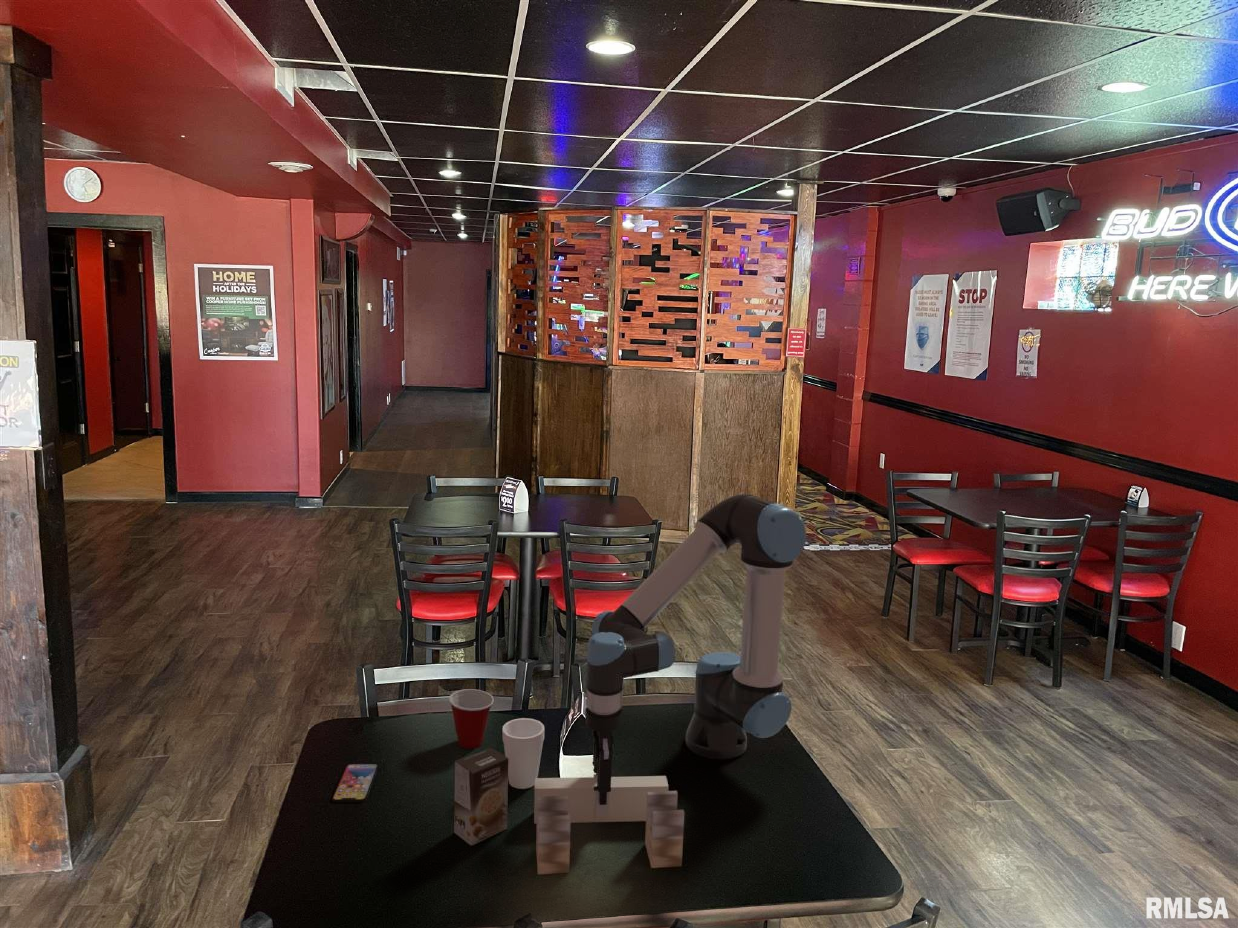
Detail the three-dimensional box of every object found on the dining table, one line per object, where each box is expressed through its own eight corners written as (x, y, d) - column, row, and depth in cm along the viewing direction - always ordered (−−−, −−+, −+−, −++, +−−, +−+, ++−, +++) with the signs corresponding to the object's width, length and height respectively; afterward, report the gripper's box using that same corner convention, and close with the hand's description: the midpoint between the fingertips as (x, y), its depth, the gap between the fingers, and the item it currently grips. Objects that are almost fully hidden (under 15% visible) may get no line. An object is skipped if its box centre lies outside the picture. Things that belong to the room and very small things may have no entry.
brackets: (674, 842, 181) (676, 790, 179) (681, 865, 174) (684, 812, 171) (536, 849, 177) (537, 796, 175) (537, 874, 170) (538, 819, 168)
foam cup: (547, 771, 206) (548, 719, 203) (539, 794, 197) (540, 740, 194) (506, 768, 207) (507, 716, 204) (497, 790, 198) (497, 736, 195)
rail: (664, 809, 192) (665, 775, 191) (666, 820, 188) (668, 786, 187) (534, 812, 190) (534, 778, 188) (534, 823, 186) (534, 788, 184)
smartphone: (379, 763, 206) (365, 799, 191) (379, 767, 206) (365, 803, 192) (346, 763, 206) (330, 799, 191) (347, 767, 206) (330, 803, 191)
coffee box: (471, 847, 177) (471, 773, 174) (453, 832, 182) (453, 760, 179) (508, 828, 184) (509, 757, 181) (490, 815, 188) (490, 745, 185)
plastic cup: (493, 753, 213) (493, 707, 210) (447, 755, 211) (447, 708, 209) (494, 731, 223) (494, 686, 221) (450, 732, 222) (450, 687, 220)
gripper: (581, 689, 192) (579, 787, 197) (589, 727, 175) (586, 834, 180) (616, 688, 193) (612, 785, 198) (627, 726, 176) (623, 832, 181)
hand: (600, 808), depth 189 cm, fingers closed on rail, 4 cm apart
